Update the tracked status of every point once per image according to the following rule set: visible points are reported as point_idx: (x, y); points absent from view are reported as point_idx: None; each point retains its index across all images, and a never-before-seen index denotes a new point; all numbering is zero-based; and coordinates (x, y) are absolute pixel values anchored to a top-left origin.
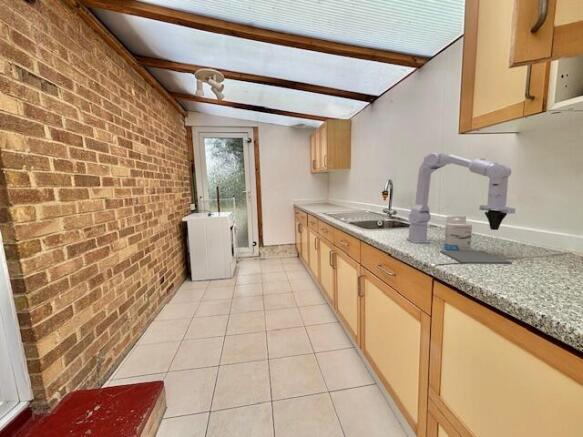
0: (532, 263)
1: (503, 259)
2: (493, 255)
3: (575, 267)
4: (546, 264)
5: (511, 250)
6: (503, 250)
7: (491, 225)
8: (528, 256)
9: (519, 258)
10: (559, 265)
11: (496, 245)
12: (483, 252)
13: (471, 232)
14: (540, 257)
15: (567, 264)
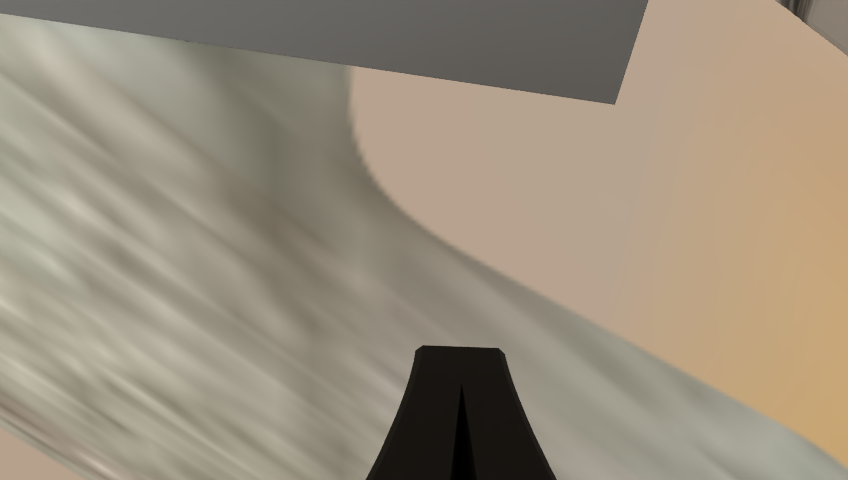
0: (76, 235)
1: (127, 12)
2: (339, 49)
3: (7, 423)
4: (61, 316)
5: (580, 432)
6: (602, 374)
7: (453, 414)
8: (344, 393)
9: (270, 271)
10: (46, 376)
11: (804, 463)
12: (514, 41)
13: (840, 48)
14: (305, 443)
15: (92, 442)
